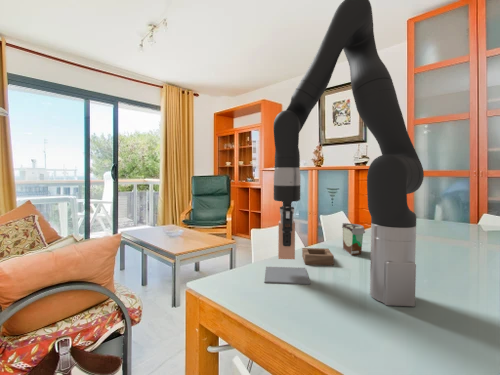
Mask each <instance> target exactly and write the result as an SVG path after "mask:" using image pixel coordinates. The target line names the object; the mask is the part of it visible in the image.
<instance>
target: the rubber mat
mask: <svg viewBox="0 0 500 375" xmlns="http://www.w3.org/2000/svg"><path fill="white" fill-rule="evenodd" d="M264 284H287V285H288V284H290V285H311V282H310V279H309V276H308V273H307V269H306V267H294V266H293V267H292V266H291V267H290V266H288V267H287V266H286V267H285V266H265V273H264Z"/></svg>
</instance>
